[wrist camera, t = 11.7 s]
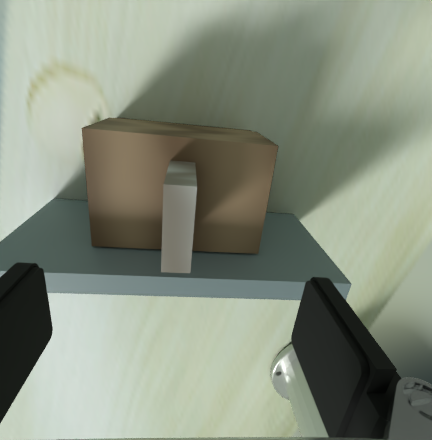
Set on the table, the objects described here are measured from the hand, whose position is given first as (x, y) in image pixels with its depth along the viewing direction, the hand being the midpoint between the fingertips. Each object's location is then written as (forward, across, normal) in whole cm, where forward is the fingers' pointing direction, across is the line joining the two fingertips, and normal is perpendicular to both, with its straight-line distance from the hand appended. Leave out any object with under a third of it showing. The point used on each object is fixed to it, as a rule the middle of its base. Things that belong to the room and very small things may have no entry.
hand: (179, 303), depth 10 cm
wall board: (+19, +1, +4) cm, 19 cm away
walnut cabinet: (+19, +1, -1) cm, 19 cm away
